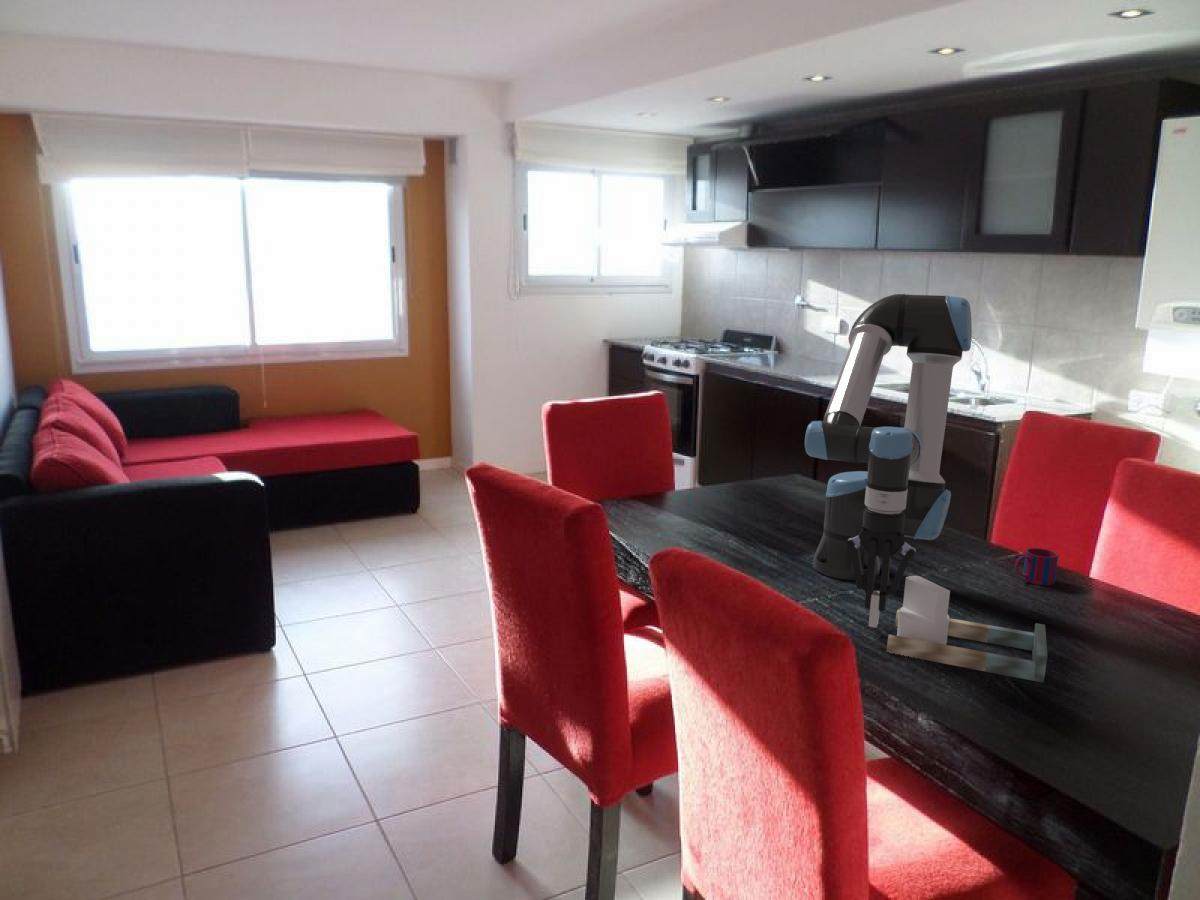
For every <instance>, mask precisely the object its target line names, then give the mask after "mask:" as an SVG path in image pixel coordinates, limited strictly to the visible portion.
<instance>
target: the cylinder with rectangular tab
mask: <svg viewBox="0 0 1200 900" xmlns="http://www.w3.org/2000/svg"><path fill="white" fill-rule="evenodd" d="M904 582H905V583H904V591H903V592H904V593H903V602H902V607H900V608H899V609H900V611H899V621H898V626H897V630H896V631H897V633H896V636H901V637H907V638H912V639H917V640H923V641H928V642H934V643H939V644H944V645H948V644H947V642H948V626H949V618H950V615H949V614H948V612H949V604H950V596H951V595H950V594H951V590H949V589H947V588H945V587H943V586H942V585H938V584H937V583H935V582H932V581H931V580H928V579H926V578H924V577H922V576H920V575H910V576H906V577H905V581H904Z"/></svg>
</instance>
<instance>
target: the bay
mask: <svg viewBox="0 0 1200 900" xmlns="http://www.w3.org/2000/svg"><path fill="white" fill-rule="evenodd" d="M899 611H900V608H898V609H897V611H896V615H895V622H894V623H895V625H894V626H895V627H898V621H899ZM948 636H949V637H953V638H959V639H967V640H969V641H970V640H972V641H977V642H982V643H988V644H993V645H998V646H1005V647H1010V648H1015V649H1019V650H1020V649H1021V650H1026V651H1032V660H1030V659H1024V658H1018V657H1014V656H1013V657H1012V656H1009V655H1003V654H997V653H993V652H986V651H981V650H977V649H970V648H965V647H961V646H959V647H958V646H955V645H948V644H946V645H944V644H939V643H934V642H928V641H923V640H917V639H912V638H907V637H901V636H897V634H895V635H894V634H888V637H887V644H886V645H887V646H886V653H887V652H889V653H888V654H893V653H895V654H894V655H898V654H900V655H899V656H903V655H904V657H908V656H909V657H910V658H913V657H914V658H913V659H918V658H919V659H920V660H924V661H929V662H930V661H931V662H935V663H940V664H946V665H948V666H949V665H951V666H956V667H960V668H961V667H962V668H966V669H971V670H976V671H981V672H987V673H992V674H997V675H1003V676H1008V677H1013V678H1017V679H1023V680H1027V681H1031V682H1032V681H1033V682H1037V683H1038V682H1039V683H1044V682H1045V677H1046V668H1047V663H1048V662H1047V661H1048V648H1047V647H1048V646H1047V645H1048V644H1047V635H1046V624H1043V623H1035V624H1034V632H1033V631H1031V632H1030V631H1025V630H1019V629H1013V628H1008V627H1003V626H996V625H990V624H984V623H980V622H974V621H968V620H962V619H957V618H956V619H955V618H950V617H949V626H948V635H947V637H948Z"/></svg>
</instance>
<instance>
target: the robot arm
mask: <svg viewBox="0 0 1200 900" xmlns="http://www.w3.org/2000/svg"><path fill="white" fill-rule="evenodd" d="M971 311H972V310H971V306H970V302H969V301H968V300H967V299H966V298H964V297H960V296H959V297H958V296H951V295H950V296H949V295H934V294H933V295H932V294H929V295H927V294H925V295H924V294H905V293H898V294H897V293H896V294H890V295H888V296H884V297H882V298H880V299H879V300H876V301H875V302H873V303H872V304H871V305H869V306H868V307H867V308H866V309H864V310H863V312H862V313H861V314H860V315H859V316H858V317H857V319H856V320H855V321H854V323H853V324H852V327H851V329H850V332H849V333H848V334H849V335H848V343H849V348H848V351H847V353H846V356H845V359H844V361H843V365H842V368H841V369H840V373H839V375H838V378H837V381H836V384H835V387H834V389H833V392H832V394H831V398H830V400H829V402H828V406H827V408H826V412H825V414H824V416H823V420H812V421H811V422H810V423H809V424H808V425H807V427H806V431H805V435H804V436H805V437H804V450H805V452H806V454H807V455H808V456H809V457H812V458H816V459H821V460H825V461H828V460H830V461H837V462H845V463H846V462H848V463H854V464H861V465H866V466H867V470H866V471H863V470H859V471H858V470H857V471H856V470H855V471H845V472H844V471H843V472H839V473H837V474H833V475H832V476H831V477H830V478H829V479H828V481H827V487H826V488H827V489H826V493H825V507H824V508H825V509H824V520H823V521H824V522H823V532H822V533H823V535H822V537H821V539H820V542H819V544H818V546H817V548H816V551H815V553H814V555H813V561H812V567H813V569H814V570H815V571H816V572H817V573H818V572H819V574H822V575H825V576H826V577H831V578H835V579H839V580H846V581H847V580H848V581H855V585H856V588H857V589H858V590H862V591H864V593H865V599H864V608H865V609H869V617H868V627H869V628H878V625H879V620H880V619H879V617H880V612H884V611H885V609H886V607H887V599H888V598H887V597H888V596H889V595H892V596H893V595H896V593H897V591H898V589H899V586H900V583H901V581H902V579H903V576H904V573H905V571H906V568H907V565H908V563H909V561H910V560H911V559H912V558H913V557H914V556H915V554H916V551H917V548H916V547H915V546H912V545H910V544H909V543H908V542H906V538H912V539H914V540H918V539H919V540H928V541H933V540H935V539H937V538H938V537H939V536H940V534H941V532H942V530H943V526H944V524H945V520H946V517H947V515H948V511H949V507H950V503H951V498H952V497H951V496H952V493H951V490H948V489H947V488H946V486H945V485H946V481H945V479H944V478H943V476H942V475H941V474H940V471H941V470H940V469H941V463H942V462H941V461H942V455H943V454H942V453H943V447H944V440H945V439H944V438H945V432H946V431H945V430H946V423H947V418H948V417H947V415H948V408H949V401H950V393H951V385H952V377H953V370H954V366H955V365H956V364H957V363H959V362H960V361H961V360H963V359H962V358H963V352H969V351H970V350H971V348H972V337H973V336H972V334H973V333H972V332H973V331H972V327H973V325H972V312H971ZM892 347H905V348H907V349H906V356H907V357H908V359H909V360H910V362H911V363H912V364H911V365H912V366H911V372H910V373H911V374H910V379H909V388H908V395H907V404H906V411H905V419H904V427H898V426H879V427H871V426H870V427H869V426H863V425H862V423H863V420H864V418H865V417H864V415H865V414H866V410H867V407H868V405H869V400H870V397H871V395H872V392H873V389H874V387H875V384H876V383H875V382H876V380H877V378H878V377H877V376H878V374H879V371H880V367H881V365H882V362H883V359H884V356H886V355H887V354H888V353H889V352H890V351H891V350H892ZM945 488H946V489H945ZM901 548H902V549H901ZM900 549H901V550H902V551H901V554H902V557H901V558H902V559H901V561H900V563H899V565H898V567H897V571H896V574H895V575H894V578H893V581H892V584H891V585H889V582H890V581H889V580H890V571H891V569H890V568H891V559H892V557H893V556H894V555H895V554H896V553H898V551H899V550H900ZM879 557H881V558H882V562H881V563H880V559H879ZM880 567H881V569H880ZM880 570H881V576H880V586H879V590H874V588H875V579H876V577H878V575H880Z"/></svg>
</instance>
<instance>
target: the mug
mask: <svg viewBox="0 0 1200 900" xmlns="http://www.w3.org/2000/svg"><path fill="white" fill-rule="evenodd" d="M1023 559H1024V564H1023V570H1022V572H1023V573H1021V572H1020V570H1019V569H1020V568H1019V566H1020V562H1021V561H1022V560H1023ZM1058 560H1059V554H1058V553H1057V552H1056V551H1054V550H1050V549H1046V548H1040V547H1030V548H1027V549H1026V550H1025V555H1020V556H1018V557H1017V558H1016V559H1015V563H1014V572H1015V573H1016V574H1017V575H1018V576H1020V577H1021V578H1022V580H1023V581H1024V582H1027V583H1029V584H1032V585H1037V586H1047V587H1048V586H1053V585H1054V584H1055V582H1056V581H1055V580H1056V575H1057V568H1058V567H1057V566H1058Z"/></svg>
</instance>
